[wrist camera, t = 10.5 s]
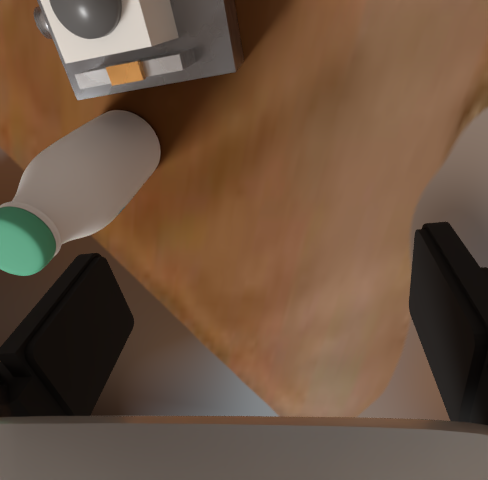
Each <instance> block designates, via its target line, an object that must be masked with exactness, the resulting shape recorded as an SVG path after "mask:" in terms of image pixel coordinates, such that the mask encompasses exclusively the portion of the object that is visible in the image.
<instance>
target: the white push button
mask: <svg viewBox="0 0 488 480" xmlns="http://www.w3.org/2000/svg"><path fill="white" fill-rule="evenodd" d="M40 1H41V3H42V6H43V8H44V11H45V13H46V16H47V18H48V21H49V23H50V26H51V28H52V31H53V33H54V36H55V38H56V41H57V43H58V46H59V49H60V51H61V54H62V56H63V59H64V61H65V64H66V63H71V62H76V61H81V60H86V59H91V58H96V57H101V56H106V55H111V54H116V53H121V52H126V51H131V50H136V49H141V48H146V47H151V46H154V45H158V44H161V43H164V42H167V41H170V40H173V39H176V38H179V37H178V33H177V29H176V25H175V20H174V16H173V12H172V8H171V4H170V0H40Z"/></svg>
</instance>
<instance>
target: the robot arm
mask: <svg viewBox="0 0 488 480" xmlns="http://www.w3.org/2000/svg"><path fill="white" fill-rule="evenodd" d="M409 310H410V314H411V317H412V320H413V323H414V325H415V327H416V330H417V333H418V336H419V339H420V341H421V344H422V346H423V349H424V352H425V354H426V357H427V360H428V362H429V365H430V367H431V370H432V373H433V376H434V378H435V381H436V384H437V386H438V389H439V391H440V394H441V397H442V399H443V402H444V405H445V407H446V410H447V413H448V415H449V418H450V420H451V421H442V420H427V419H393V418H355V417H260V416H258V417H254V416H246V417H245V416H90V415H91V413H92V411H93V409H94V407H95V405H96V402H97V400H98V398H99V396H100V394H101V392H102V390H103V388H104V386H105V384H106V382H107V380H108V378H109V376H110V374H111V371H112V370H113V367H114V365H115V364H116V362H117V359H118V357H119V355H120V353H121V351H122V349H123V347H124V345H125V343H126V341H127V338H128V337H129V335H130V333H131V331H132V329H133V326H134V318H133V315H132V313H131V311H130V309H129V307H128V305H127V303H126V301H125V298H124V296H123V294H122V292H121V290H120V287H119V285H118V283H117V281H116V279H115V277H114V275H113V272H112V270H111V268H110V266H109V264H108V262H107V260H106V259H105V258H104V257H102V256H101V255H100V254H98V253H91V254H81V255H79V256H77V257H76V258H75V259H74V261H73V262H72V263H71V264H70V265H69V267H68V268H67V269H66V270H65V271H64V273H63V274H62V275H61V276H60V277H59V278H58V280H57V281H56V282H55V283H54V284H53V286H52V287H51V288H50V289H49V290H48V292H47V293H46V294H45V295H44V296H43V298H42V299H41V300H40V301H39V302H38V303H37V305H36V306H35V307H34V308H33V309H32V310H31V312H30V313H29V314H28V315H27V316H26V318H25V319H24V320H23V321H22V322H21V323H20V325H19V326H18V327H17V328H16V329H15V331H14V332H13V333H12V334H11V335H10V337H9V338H8V339H7V340H6V341H5V342H4V344H3V345H2V346H1V347H0V361H1V362H0V480H488V268H486V267H485V268H480V267H479V265H478V264H477V262H476V261H475V259H474V258H473V257H472V255H471V254H470V252H469V251H468V250H467V248H466V247H465V245H464V244H463V242H462V241H461V240H460V238H459V237H458V235H457V234H456V232H455V231H454V230H453V228H452V227H451V225H450V224H449V223H448V222H439V223H427V224H424V225H423V227H422V229H421V230H416V232H415V238H414V250H413V261H412V273H411V285H410V296H409Z"/></svg>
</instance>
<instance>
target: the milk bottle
mask: <svg viewBox="0 0 488 480" xmlns="http://www.w3.org/2000/svg"><path fill="white" fill-rule="evenodd" d="M160 155H161V150H160V144H159V140H158V138H157V136H156V134H155V132H154V130H153V129H152V128H151V126H150V125H149V124H148V123H147V122H146V121H145V120H144V119H142V118H141V117H139V116H138V115H136V114H134V113H131V112H128V111H124V110H112V111H108V112H106V113H104V114H102V115H100V116H98V117H96V118H94V119H93V120H91V121H89V122H88V123H86V124H84V125H83V126H81V127H79V128H78V129H76V130H74V131H73V132H71V133H69V134H68V135H66V136H64V137H63V138H61V139H60V140H58V141H56V142H55V143H53V144H52V145H50V146H49V147H48V148H46V149H45V150H43V151H42V152H40V153H39V154H38V155H37V156H36V157H35V158H34V159H33V160H32V161H31V163H30V164H29V165H28V166H27V168H26V170H25V171H24V173H23V175H22V178H21V181H20V184H19V187H18V190H17V193H16V196H15V197H14V199H13V201H12V202H8V203H4V204H2V205H0V269H1V270H3V271H6V272H9V273H11V274H15V275H22V276H23V275H24V276H26V275H32V274H35V273H37V272H39V271H40V270H42V269H43V268H44V267H45V266H46V265H47V264H48V263H49V262H50V260H51V259H52V258H53V257H54V256H55V255H56V254H57V253H58V252H59V250H60V247H61V245H62V244H63V243H66V242H67V241H70V240H74V239H78V238H82V237H85V236H88V235H91V234H93V233H96V232H97V231H99V230H101V229H102V228H104V227H105V226H107V225H108V224H109V223H110V222H111V221H112V220H113V219H114V218H115V217H116V216H117V215H118V214H119V213H120V212H121V211H122V210H123V209H124V207H125V206H126V205H127V204H128V203H129V201H130V200H131V199H132V198H133V197H134V196H135V194H136V193H137V192H138V191H139V189H140V188H141V187H142V186H143V185H144V183H145V182H146V181H147V180H148V178H149V177H150V176H151V175H152V173H153V172H154V171H155V169H156V168H157V166H158V164H159V161H160Z"/></svg>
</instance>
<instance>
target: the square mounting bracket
mask: <svg viewBox="0 0 488 480" xmlns="http://www.w3.org/2000/svg"><path fill="white" fill-rule="evenodd" d="M37 1H38V4H39V6H38V7H36V8H35V9H34V19H35V22H36V24H37V27H38V28H39V30H40V32H41V33H42V34H43V35H44V36H45V37H46V38H48V39H53V41H54V43H55V46H56V48H57V51H58V53H59V56H60V58H61V61H62V63H63V66H64V68H65V71H66V73H67V76H68V78H69V81H70V83H71V86H72V88H73V91H74V93H75V96H76V98H77V100H82V99H87V98H93V97H98V96H104V95H110V94H115V93H121V92H126V91H132V90H138V89H143V88H149V87H154V86H160V85H166V84H171V83H177V82H182V81H188V80H193V79H199V78H205V77H210V76H216V75H221V74H227V73H233V72H236V71H237V70H238V69H239V67H240V66H241V65H242V64H243V62H244V57H243V50H242V44H241V38H240V32H239V25H238V19H237V13H236V7H235V0H170V4H171V8H172V12H173V16H174V20H175V25H176V29H177V33H178V37H179V38H176V39H173V40H170V41H167V42H164V43H161V44H158V45H154V46H151V47H146V48H141V49H136V50H131V51H126V52H121V53H116V54H111V55H106V56H101V57H96V58H91V59H86V60H81V61H76V62H71V63H66V64H65V61H64V59H63V56H62V54H61V51H60V49H59V46H58V43H57V41H56V38H55V36H54V33H53V31H52V28H51V26H50V23H49V21H48V18H47V16H46V13H45V11H44V8H43V6H42V3H41V1H40V0H37Z"/></svg>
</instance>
